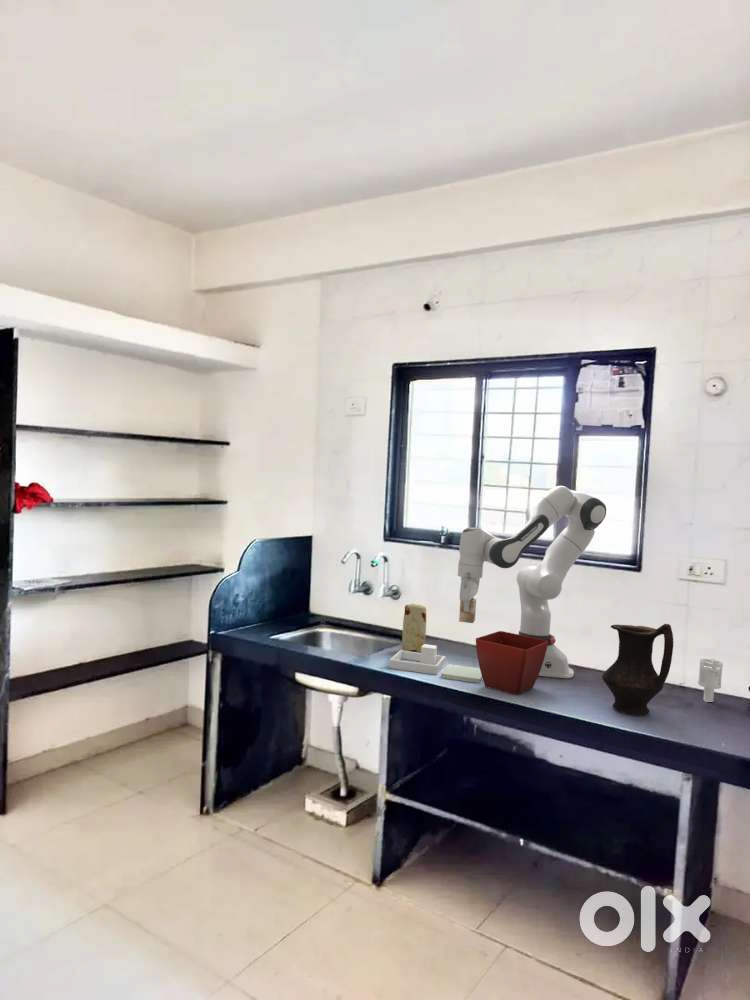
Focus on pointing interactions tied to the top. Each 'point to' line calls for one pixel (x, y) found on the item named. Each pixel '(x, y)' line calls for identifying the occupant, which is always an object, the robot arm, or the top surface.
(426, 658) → the plain white box
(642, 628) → the jug
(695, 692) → the top surface
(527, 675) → the plant pot
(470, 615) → the labelled oak box
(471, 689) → the top surface
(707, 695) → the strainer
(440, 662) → the shallow white tray
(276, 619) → the top surface
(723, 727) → the top surface
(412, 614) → the food model
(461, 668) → the sage board
